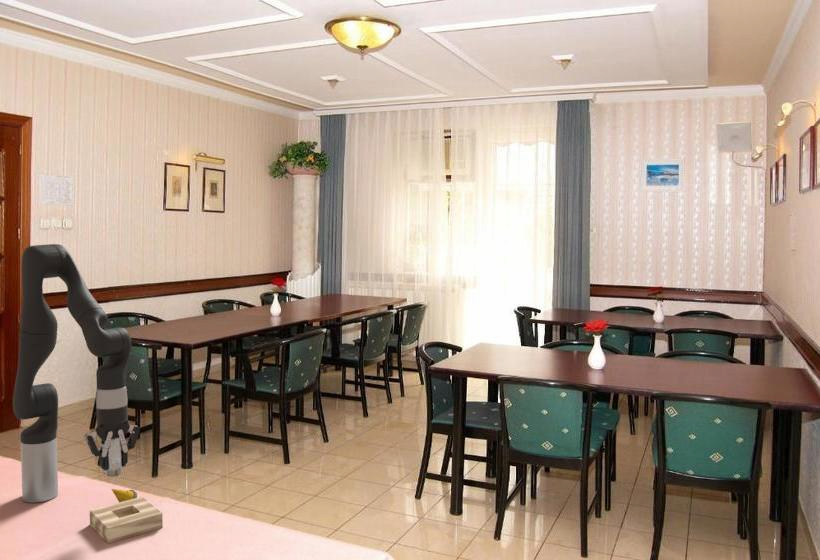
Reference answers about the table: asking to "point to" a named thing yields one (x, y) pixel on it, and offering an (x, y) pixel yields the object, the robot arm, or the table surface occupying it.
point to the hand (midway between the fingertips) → (114, 467)
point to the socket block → (125, 519)
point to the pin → (114, 458)
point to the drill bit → (124, 495)
